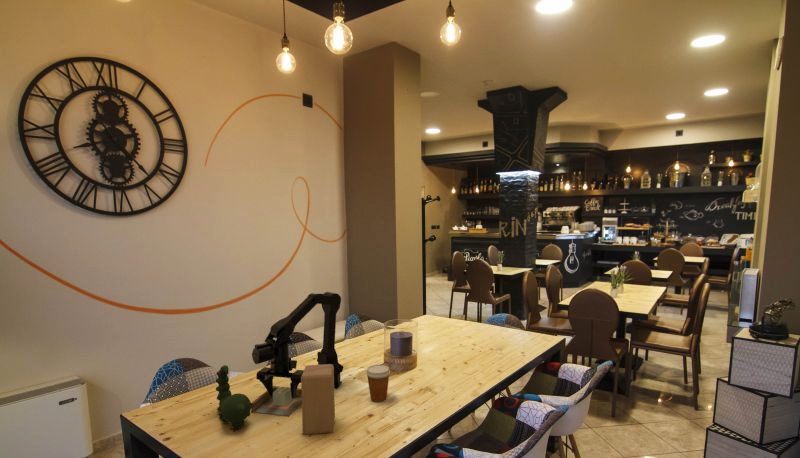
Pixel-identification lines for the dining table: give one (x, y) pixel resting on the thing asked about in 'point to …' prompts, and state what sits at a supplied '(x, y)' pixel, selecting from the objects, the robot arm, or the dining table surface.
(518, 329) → the dining table surface
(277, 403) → the cube
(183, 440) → the dining table surface
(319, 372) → the wooden block
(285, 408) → the arena
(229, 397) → the toy figurine
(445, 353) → the dining table surface
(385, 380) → the disposable coffee cup
